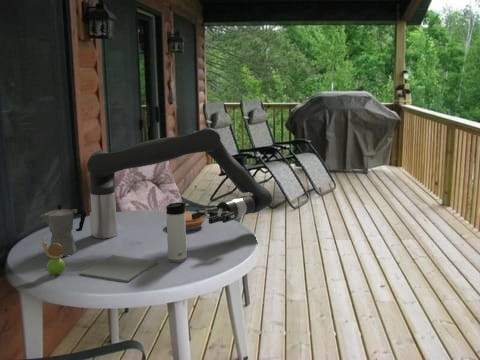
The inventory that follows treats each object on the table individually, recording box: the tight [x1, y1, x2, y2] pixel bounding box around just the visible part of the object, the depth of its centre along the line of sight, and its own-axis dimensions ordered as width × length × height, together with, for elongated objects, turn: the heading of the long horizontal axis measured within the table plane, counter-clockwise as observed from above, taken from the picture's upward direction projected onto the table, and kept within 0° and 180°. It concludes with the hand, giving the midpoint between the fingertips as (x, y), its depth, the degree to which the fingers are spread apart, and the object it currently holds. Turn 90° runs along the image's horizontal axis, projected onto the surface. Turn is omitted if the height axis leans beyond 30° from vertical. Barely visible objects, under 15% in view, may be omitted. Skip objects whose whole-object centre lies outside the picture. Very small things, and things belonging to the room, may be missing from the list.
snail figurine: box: [41, 237, 66, 276], centre depth 172 cm, size 5×6×12 cm
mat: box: [79, 254, 159, 283], centre depth 177 cm, size 18×18×1 cm
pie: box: [185, 212, 206, 232], centre depth 223 cm, size 16×16×5 cm
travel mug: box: [165, 201, 188, 264], centre depth 183 cm, size 6×7×20 cm
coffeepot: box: [39, 203, 87, 257], centre depth 192 cm, size 15×9×18 cm, turn 115°
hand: (200, 219), depth 191 cm, fingers open, 8 cm apart
